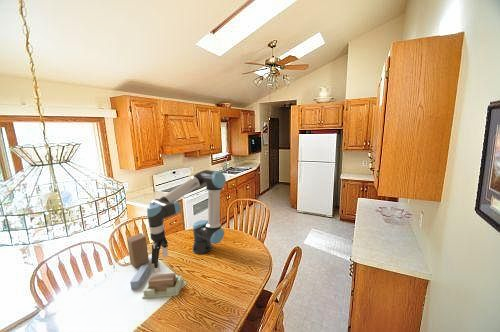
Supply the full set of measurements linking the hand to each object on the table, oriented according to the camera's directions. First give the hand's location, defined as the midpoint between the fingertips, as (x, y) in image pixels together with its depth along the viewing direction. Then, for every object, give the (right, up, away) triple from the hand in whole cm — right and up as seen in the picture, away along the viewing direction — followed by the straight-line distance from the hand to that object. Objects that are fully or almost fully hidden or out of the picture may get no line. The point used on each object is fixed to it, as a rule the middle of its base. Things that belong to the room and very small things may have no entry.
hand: (161, 264), depth 124 cm
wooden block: (-29, -13, +29) cm, 43 cm away
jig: (0, -16, +2) cm, 16 cm away
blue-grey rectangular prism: (-18, -15, +11) cm, 26 cm away
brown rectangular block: (0, -15, +2) cm, 15 cm away
